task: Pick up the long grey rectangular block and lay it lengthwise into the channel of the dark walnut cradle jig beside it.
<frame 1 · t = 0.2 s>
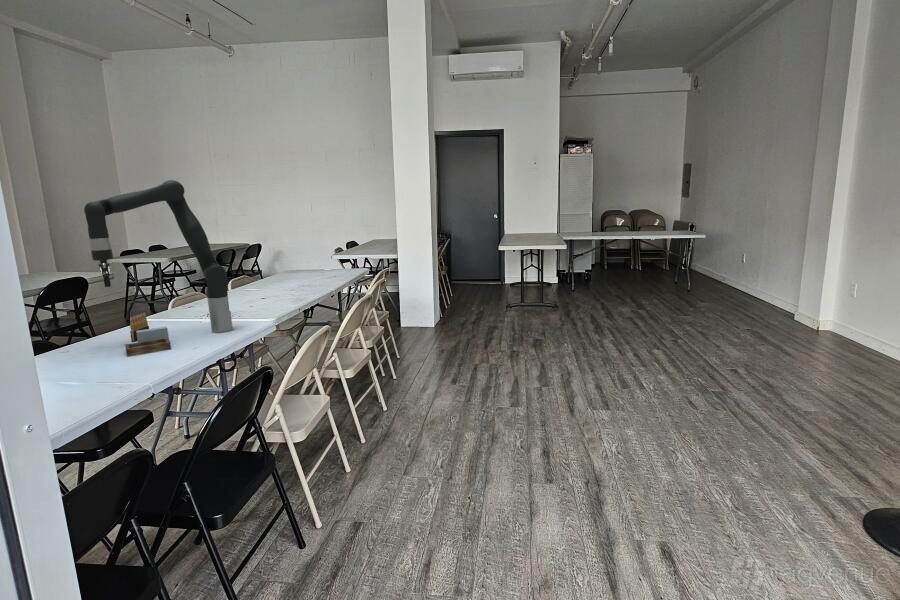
hand: (107, 285, 223), 28 cm above the table, tool pointing down, fingers open, 8 cm apart
long grey rectangular block: (154, 344, 232), on the table
ammunition clip: (141, 339, 242), on the table
cradle jig: (148, 350, 222), on the table
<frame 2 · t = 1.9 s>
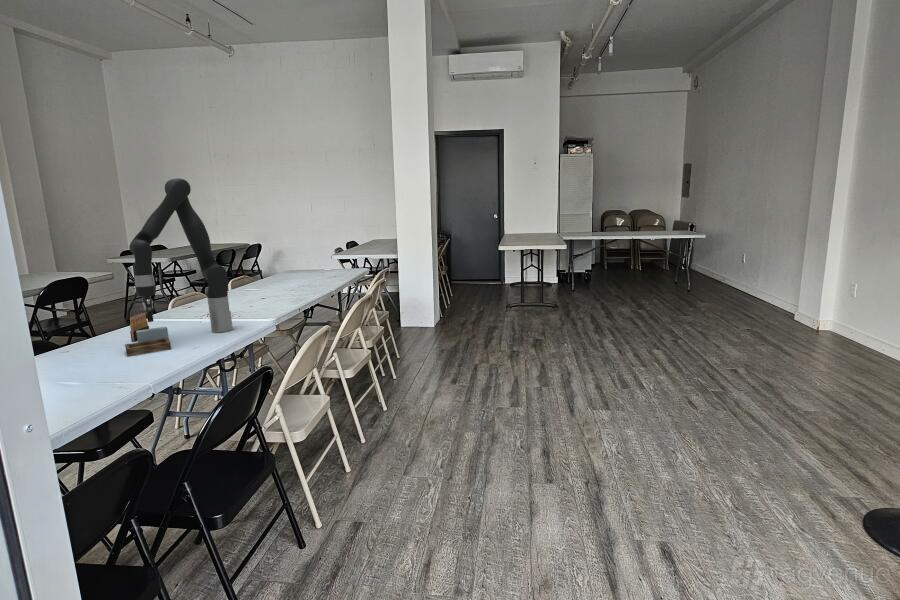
hand: (149, 320, 230), 11 cm above the table, tool pointing down, fingers open, 8 cm apart
nothing on the table moved.
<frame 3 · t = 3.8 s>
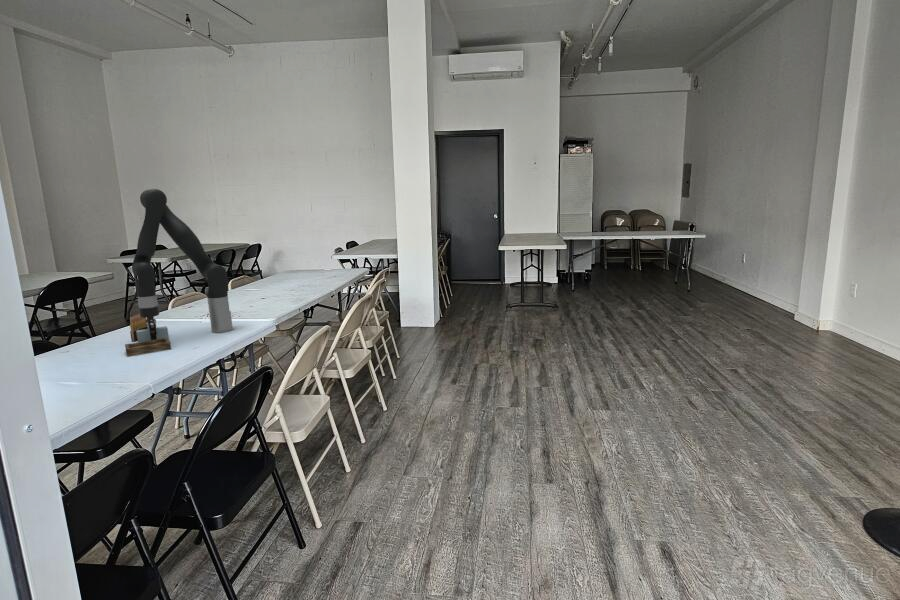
hand: (153, 342, 232), 1 cm above the table, tool pointing down, fingers closed on long grey rectangular block, 4 cm apart
long grey rectangular block: (154, 344, 232), on the table, touching gripper
everything else where it was.
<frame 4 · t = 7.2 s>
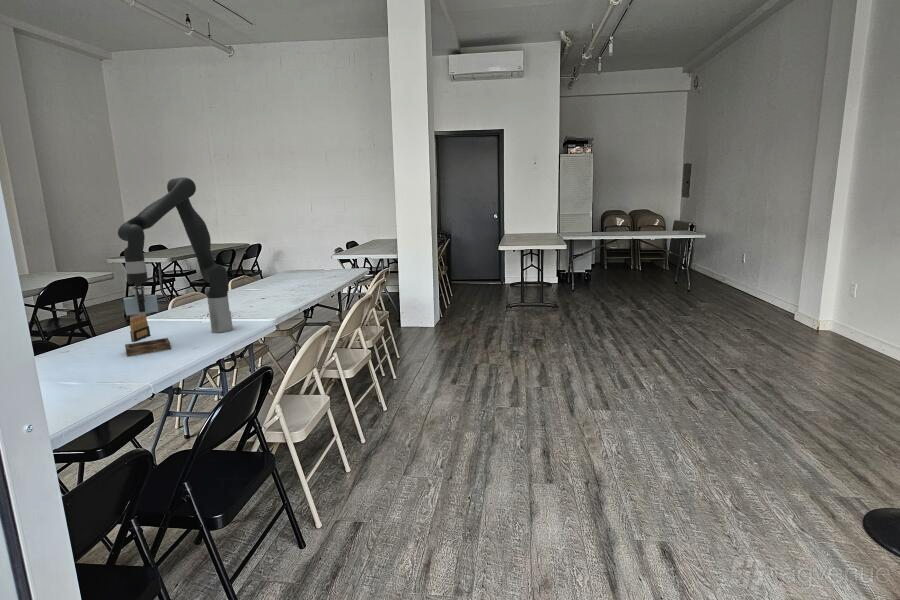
hand: (142, 310, 220), 18 cm above the table, tool pointing down, fingers closed on long grey rectangular block, 4 cm apart
long grey rectangular block: (142, 312, 220), point 17 cm above the table, touching gripper
everything else where it was.
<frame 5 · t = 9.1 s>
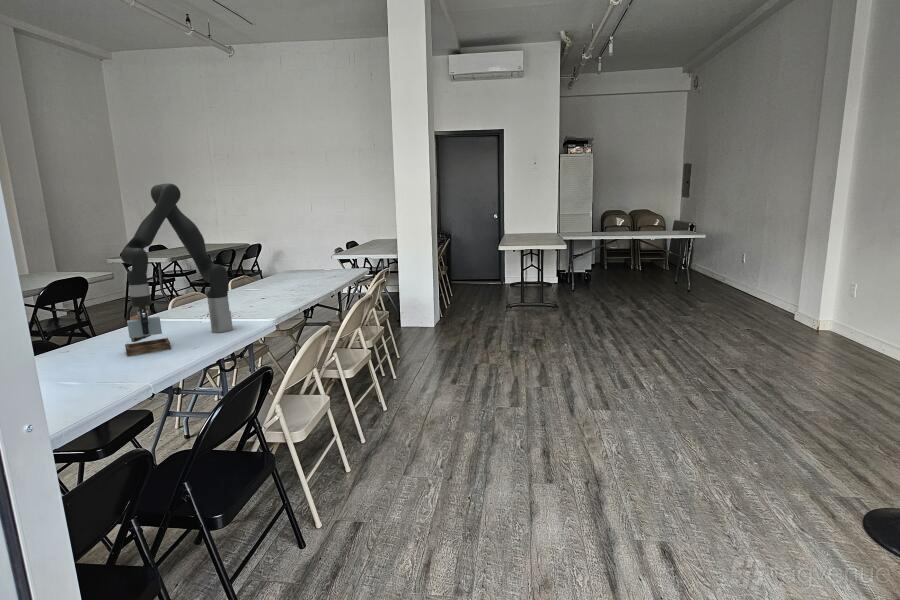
hand: (145, 333, 221), 8 cm above the table, tool pointing down, fingers closed on long grey rectangular block, 4 cm apart
long grey rectangular block: (145, 335, 221), point 7 cm above the table, touching gripper
everything else where it was.
when the fingers open (4 cm above the table, at t = 10.7 s): long grey rectangular block drops 2 cm, resting on cradle jig.
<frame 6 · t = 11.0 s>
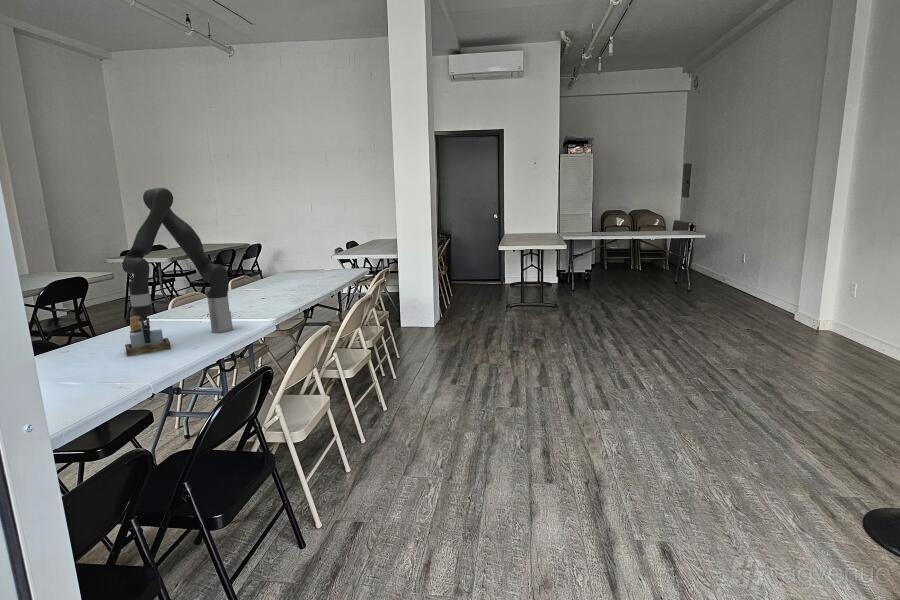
hand: (147, 341, 221), 4 cm above the table, tool pointing down, fingers open, 6 cm apart
long grey rectangular block: (148, 347, 222), point 1 cm above the table, touching cradle jig
everything else where it was.
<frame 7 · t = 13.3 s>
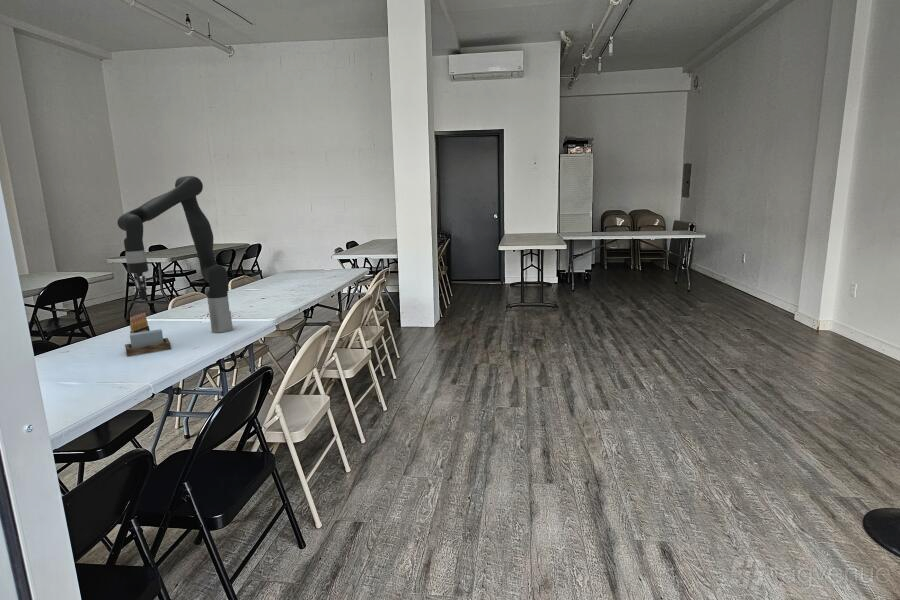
hand: (143, 298, 222), 23 cm above the table, tool pointing down, fingers open, 8 cm apart
nothing on the table moved.
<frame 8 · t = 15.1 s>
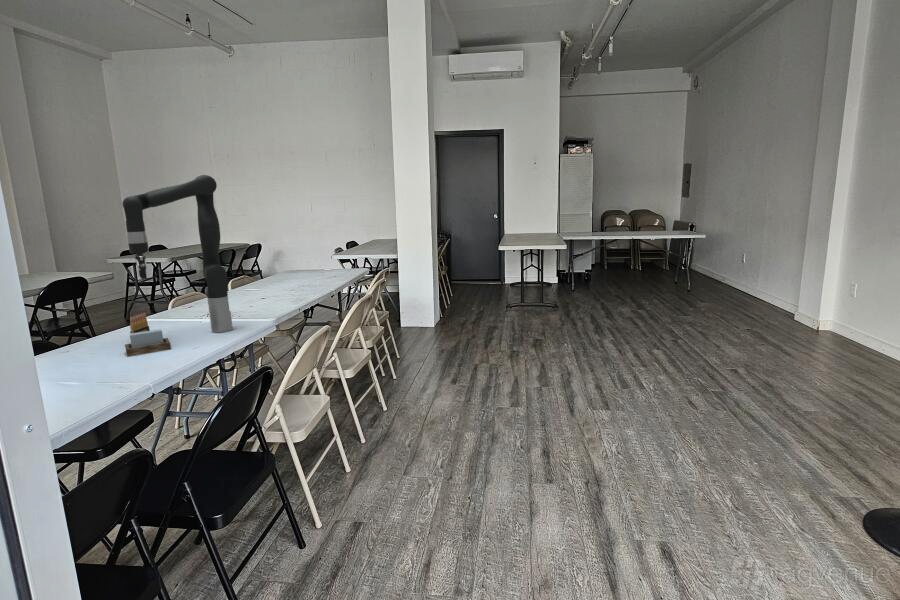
hand: (143, 277, 230), 30 cm above the table, tool pointing down, fingers open, 8 cm apart
nothing on the table moved.
at the end: long grey rectangular block 0.1 cm off-centre on the cradle jig, point 1.2 cm above the cradle jig's base; long grey rectangular block tilted 0°; the gripper is holding nothing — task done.
